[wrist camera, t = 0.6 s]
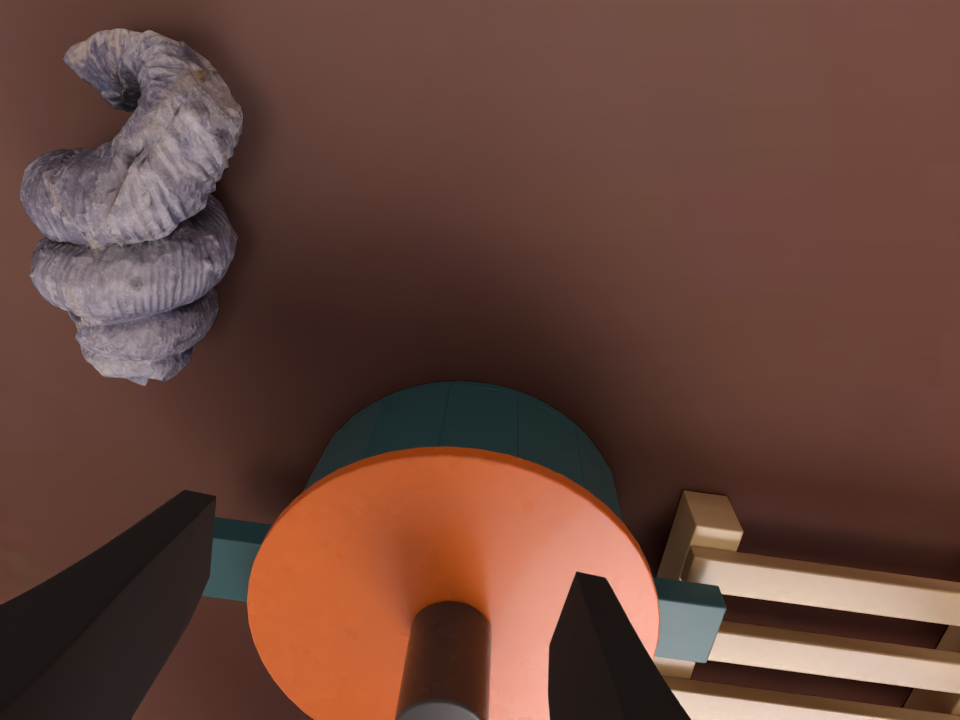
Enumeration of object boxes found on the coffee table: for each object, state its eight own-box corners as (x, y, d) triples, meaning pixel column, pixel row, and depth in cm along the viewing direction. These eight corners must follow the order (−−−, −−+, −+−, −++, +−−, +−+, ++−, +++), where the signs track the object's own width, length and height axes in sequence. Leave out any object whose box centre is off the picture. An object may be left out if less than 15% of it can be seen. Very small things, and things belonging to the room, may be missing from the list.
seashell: (175, 21, 20) (188, 333, 25) (-45, 0, 16) (17, 374, 21) (286, 51, 17) (277, 397, 22) (52, 34, 14) (100, 458, 18)
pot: (651, 657, 28) (676, 774, 24) (239, 602, 28) (186, 709, 23) (729, 416, 23) (780, 505, 19) (235, 347, 23) (169, 421, 19)
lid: (607, 759, 24) (625, 904, 20) (258, 713, 24) (206, 850, 20) (700, 466, 19) (750, 582, 15) (258, 405, 19) (189, 505, 15)
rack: (884, 805, 31) (914, 868, 29) (596, 767, 31) (603, 827, 29) (1043, 539, 25) (1098, 591, 23) (682, 489, 25) (700, 537, 22)
